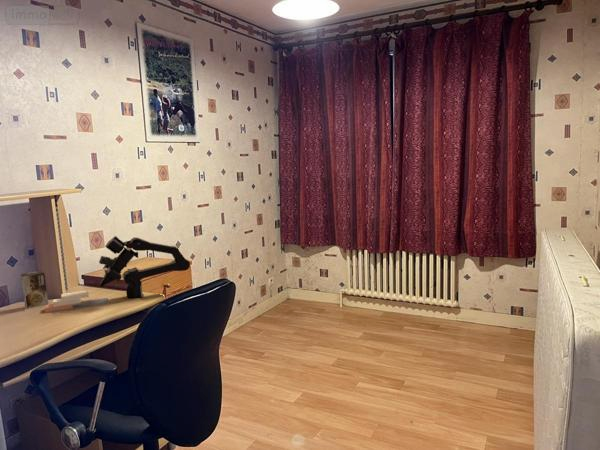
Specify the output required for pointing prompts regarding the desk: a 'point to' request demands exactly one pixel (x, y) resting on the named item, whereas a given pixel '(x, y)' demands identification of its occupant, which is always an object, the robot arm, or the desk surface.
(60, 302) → the domino
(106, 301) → the mat
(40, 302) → the coffee box
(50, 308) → the domino
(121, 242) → the robot arm
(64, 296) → the domino
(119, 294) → the desk surface
